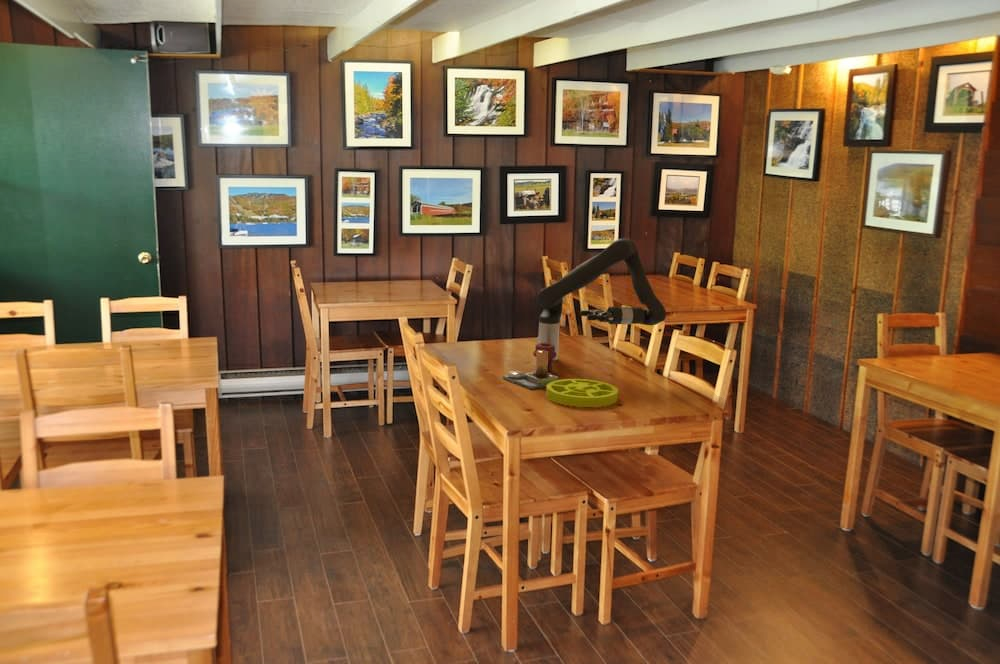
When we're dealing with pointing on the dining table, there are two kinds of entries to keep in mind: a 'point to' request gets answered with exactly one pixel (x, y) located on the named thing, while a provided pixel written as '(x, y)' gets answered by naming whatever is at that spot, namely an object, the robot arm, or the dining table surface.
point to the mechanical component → (551, 352)
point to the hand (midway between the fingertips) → (583, 315)
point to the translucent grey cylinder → (541, 364)
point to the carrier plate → (529, 379)
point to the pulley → (581, 392)
